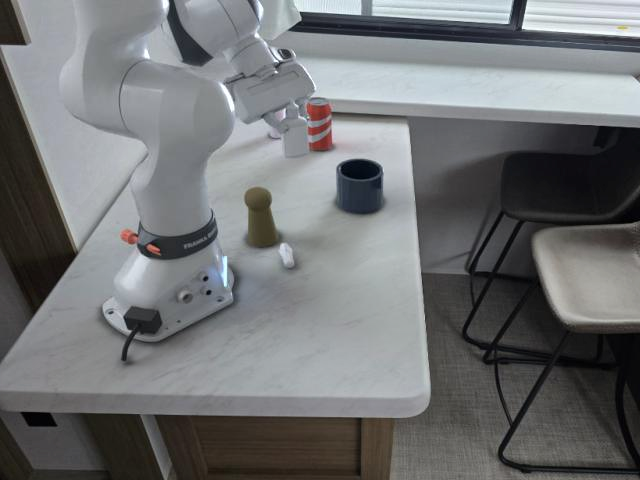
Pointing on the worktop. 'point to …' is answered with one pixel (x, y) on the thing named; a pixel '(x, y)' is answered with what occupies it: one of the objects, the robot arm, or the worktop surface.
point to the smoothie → (280, 116)
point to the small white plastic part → (286, 255)
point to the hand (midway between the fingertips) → (296, 127)
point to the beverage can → (319, 123)
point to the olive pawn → (260, 217)
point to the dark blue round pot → (359, 185)
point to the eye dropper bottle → (295, 133)
